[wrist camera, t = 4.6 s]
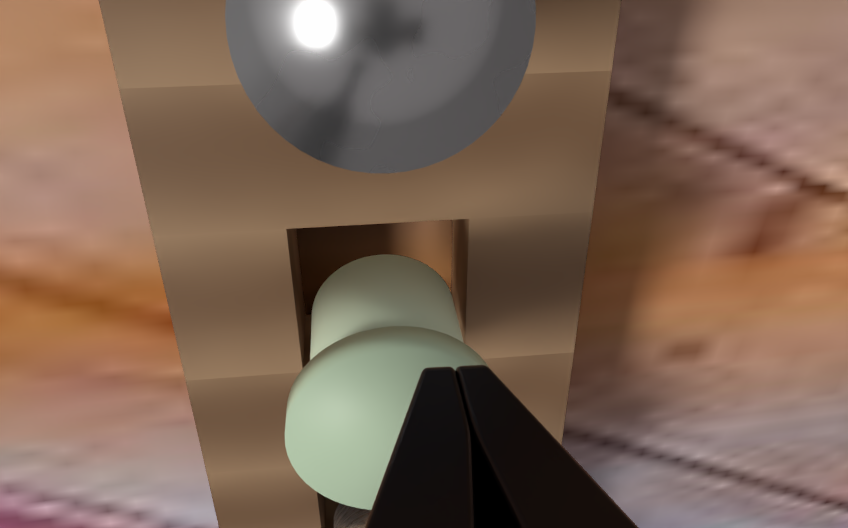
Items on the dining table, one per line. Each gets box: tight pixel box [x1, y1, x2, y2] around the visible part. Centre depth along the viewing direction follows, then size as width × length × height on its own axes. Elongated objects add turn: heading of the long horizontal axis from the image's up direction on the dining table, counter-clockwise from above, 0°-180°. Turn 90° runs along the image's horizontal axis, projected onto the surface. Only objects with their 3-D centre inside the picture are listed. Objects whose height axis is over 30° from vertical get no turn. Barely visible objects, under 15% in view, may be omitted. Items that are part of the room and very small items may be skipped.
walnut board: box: [99, 0, 621, 528], centre depth 22 cm, size 28×12×3 cm, turn 0°
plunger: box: [225, 0, 536, 173], centre depth 14 cm, size 5×5×5 cm
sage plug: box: [285, 254, 488, 510], centre depth 18 cm, size 5×5×5 cm
